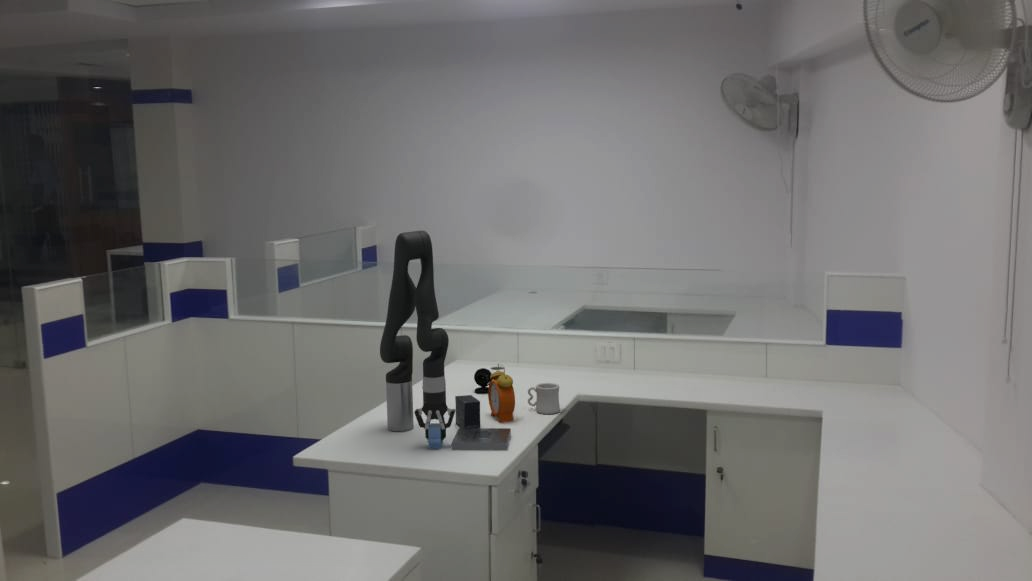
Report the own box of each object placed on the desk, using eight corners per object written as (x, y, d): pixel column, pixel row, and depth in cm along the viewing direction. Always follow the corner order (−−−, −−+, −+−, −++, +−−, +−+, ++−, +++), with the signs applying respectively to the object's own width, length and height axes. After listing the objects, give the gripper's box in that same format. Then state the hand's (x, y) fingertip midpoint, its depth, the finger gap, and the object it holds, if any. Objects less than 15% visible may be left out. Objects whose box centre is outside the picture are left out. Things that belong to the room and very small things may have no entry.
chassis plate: (458, 435, 298) (458, 428, 297) (510, 435, 296) (510, 428, 296) (452, 449, 282) (451, 442, 282) (506, 450, 281) (506, 442, 280)
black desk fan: (472, 393, 354) (471, 370, 353) (477, 389, 361) (476, 366, 360) (490, 394, 352) (489, 370, 351) (495, 390, 360) (494, 366, 358)
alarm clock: (487, 414, 323) (486, 362, 320) (503, 413, 325) (502, 360, 322) (500, 424, 310) (499, 369, 308) (516, 422, 312) (515, 368, 310)
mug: (562, 409, 329) (561, 383, 328) (556, 415, 320) (556, 389, 319) (530, 407, 332) (530, 381, 331) (524, 413, 324) (524, 387, 322)
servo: (432, 441, 291) (431, 421, 290) (444, 441, 291) (443, 421, 290) (427, 450, 282) (427, 429, 281) (439, 450, 282) (439, 429, 281)
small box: (481, 429, 304) (481, 400, 302) (464, 432, 301) (463, 402, 300) (472, 422, 313) (471, 394, 312) (455, 424, 311) (454, 395, 310)
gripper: (457, 386, 287) (458, 436, 289) (415, 386, 288) (416, 436, 290) (454, 391, 279) (455, 443, 282) (410, 391, 281) (412, 442, 283)
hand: (435, 439), depth 286 cm, fingers closed on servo, 4 cm apart
